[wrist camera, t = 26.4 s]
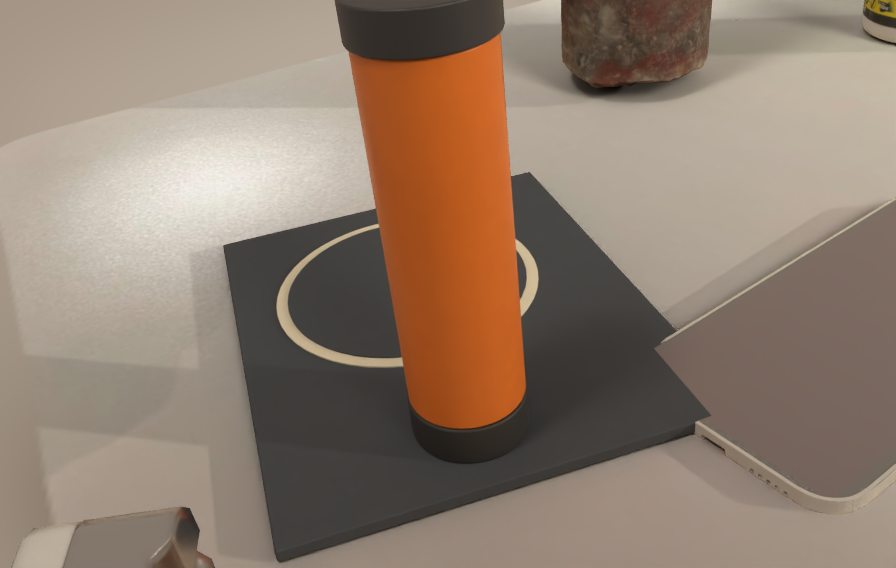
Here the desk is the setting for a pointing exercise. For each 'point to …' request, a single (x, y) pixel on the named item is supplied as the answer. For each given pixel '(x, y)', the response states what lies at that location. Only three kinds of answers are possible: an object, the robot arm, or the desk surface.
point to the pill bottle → (880, 19)
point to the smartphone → (805, 370)
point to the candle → (634, 39)
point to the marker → (444, 213)
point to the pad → (384, 384)
